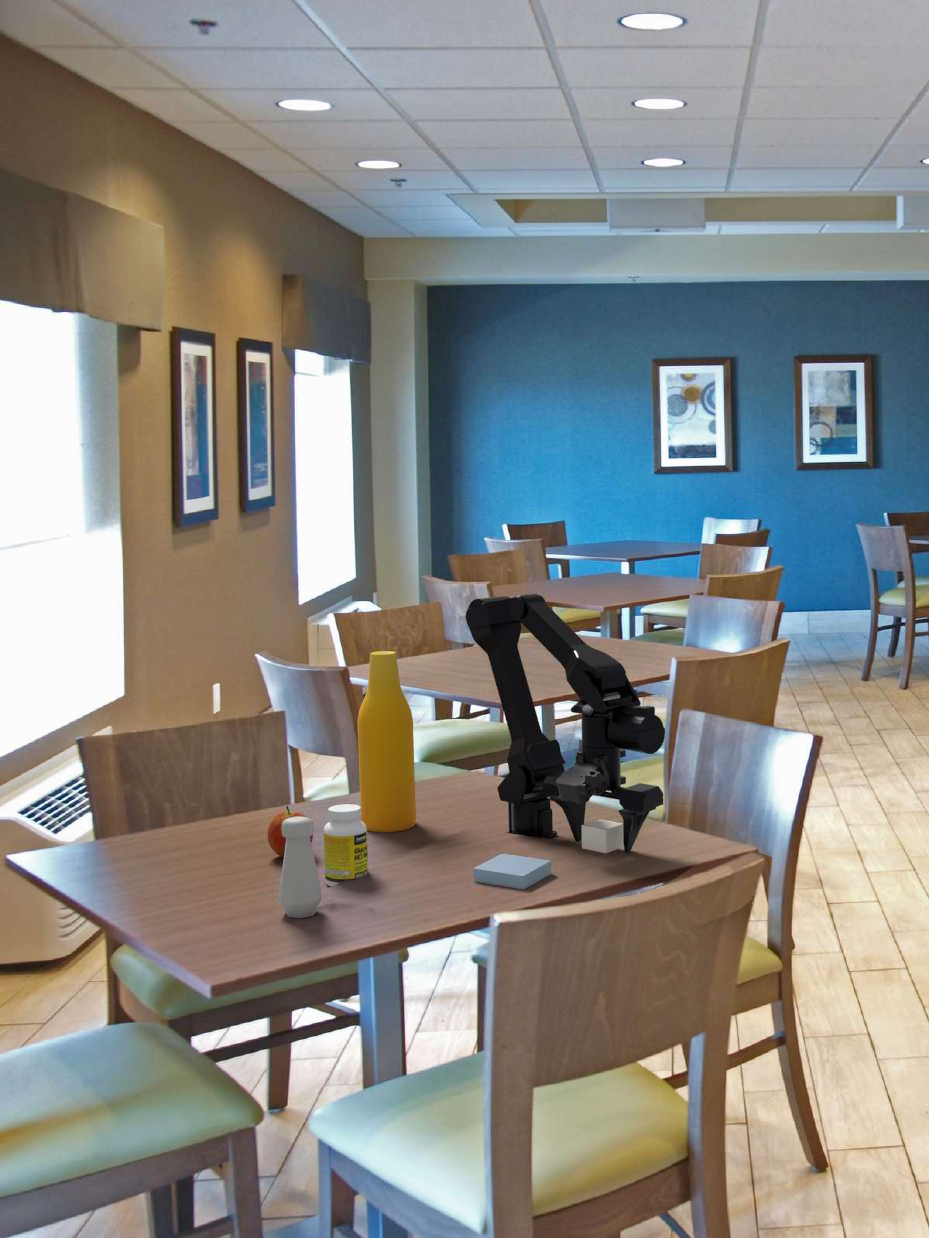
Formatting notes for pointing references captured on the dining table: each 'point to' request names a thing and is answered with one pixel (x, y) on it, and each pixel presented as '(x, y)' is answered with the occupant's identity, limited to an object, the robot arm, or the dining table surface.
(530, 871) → the slate slab
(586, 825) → the cream block
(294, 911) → the salt shaker
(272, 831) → the fruit
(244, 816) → the dining table surface
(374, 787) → the beer bottle
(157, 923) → the dining table surface
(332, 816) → the pill bottle
